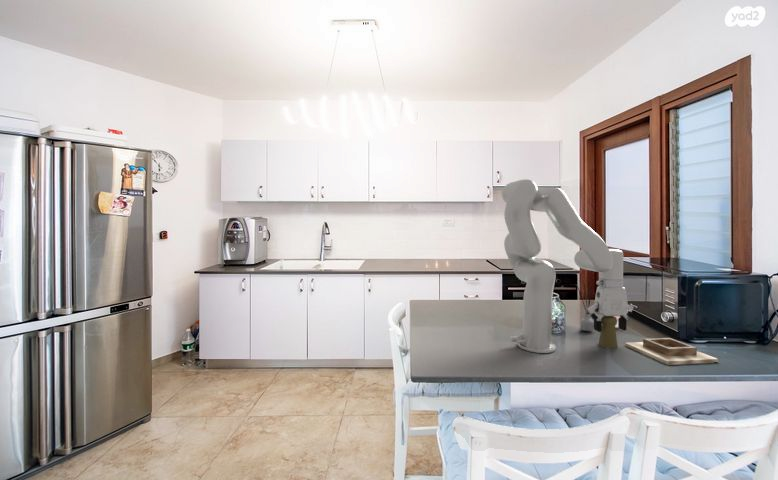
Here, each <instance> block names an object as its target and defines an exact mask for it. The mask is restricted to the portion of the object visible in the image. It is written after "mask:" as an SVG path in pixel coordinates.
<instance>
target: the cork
mask: <svg viewBox="0 0 778 480" xmlns="http://www.w3.org/2000/svg"><path fill="white" fill-rule="evenodd" d="M600 321H601V322H602V331H601V332H599V333H600V335H599V338H598V346H600V347H601V348H607V349H617V348H618V347H619V346H618V338H617V330H616V328H617V327H615V325H616V324H617V319H616V317H614V316H603V317H602V318H601V320H600Z"/></svg>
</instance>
